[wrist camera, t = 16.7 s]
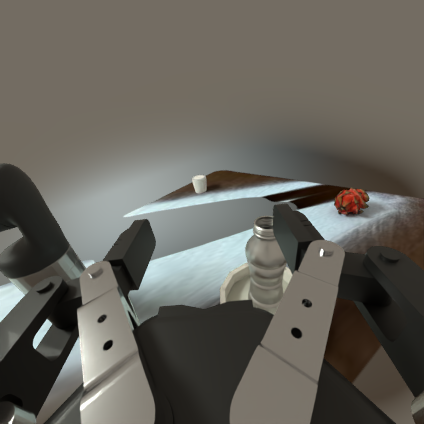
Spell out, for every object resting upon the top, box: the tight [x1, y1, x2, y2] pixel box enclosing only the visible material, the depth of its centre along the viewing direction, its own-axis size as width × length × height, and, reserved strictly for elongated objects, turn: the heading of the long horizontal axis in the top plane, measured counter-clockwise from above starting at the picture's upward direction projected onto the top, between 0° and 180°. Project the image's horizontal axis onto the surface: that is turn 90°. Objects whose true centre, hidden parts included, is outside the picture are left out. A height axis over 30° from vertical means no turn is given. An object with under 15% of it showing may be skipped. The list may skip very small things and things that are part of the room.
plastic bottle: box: [245, 216, 287, 314], centre depth 31 cm, size 6×7×20 cm
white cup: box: [192, 175, 207, 193], centre depth 90 cm, size 7×7×7 cm
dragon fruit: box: [334, 188, 369, 215], centre depth 59 cm, size 8×8×12 cm
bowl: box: [220, 263, 292, 304], centre depth 36 cm, size 17×17×4 cm
